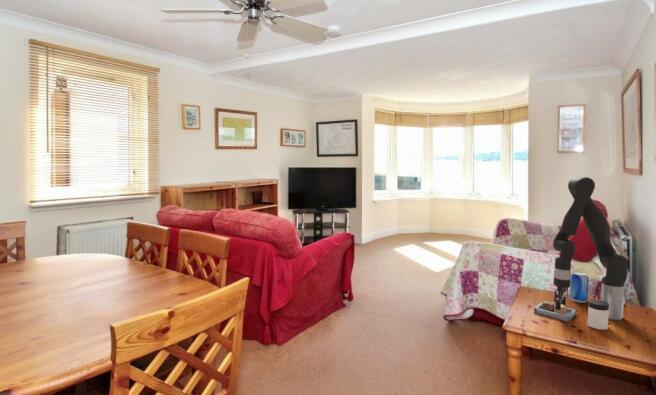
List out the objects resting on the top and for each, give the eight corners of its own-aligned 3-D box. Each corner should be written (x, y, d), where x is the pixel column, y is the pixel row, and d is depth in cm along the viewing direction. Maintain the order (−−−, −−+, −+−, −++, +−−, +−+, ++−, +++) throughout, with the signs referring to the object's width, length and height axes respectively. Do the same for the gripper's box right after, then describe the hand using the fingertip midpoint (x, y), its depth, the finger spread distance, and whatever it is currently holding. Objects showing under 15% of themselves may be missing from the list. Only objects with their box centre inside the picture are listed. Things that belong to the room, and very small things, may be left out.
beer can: (590, 303, 212) (592, 275, 210) (575, 303, 212) (577, 275, 210) (581, 297, 220) (582, 271, 219) (566, 298, 220) (568, 271, 219)
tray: (575, 314, 197) (576, 309, 197) (568, 321, 188) (568, 317, 188) (542, 306, 209) (542, 301, 208) (533, 312, 200) (534, 308, 200)
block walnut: (554, 310, 200) (555, 302, 200) (551, 313, 197) (552, 304, 197) (545, 308, 204) (545, 300, 203) (542, 310, 201) (542, 302, 200)
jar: (612, 328, 181) (613, 303, 180) (602, 331, 177) (604, 306, 176) (592, 320, 189) (593, 297, 188) (582, 324, 185) (584, 300, 184)
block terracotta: (566, 313, 196) (566, 305, 196) (563, 316, 193) (564, 307, 193) (556, 311, 200) (557, 303, 199) (553, 313, 197) (554, 305, 196)
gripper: (566, 281, 187) (564, 313, 189) (574, 275, 197) (572, 305, 198) (549, 278, 192) (548, 309, 194) (558, 272, 202) (556, 301, 204)
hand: (560, 307), depth 196 cm, fingers open, 8 cm apart
